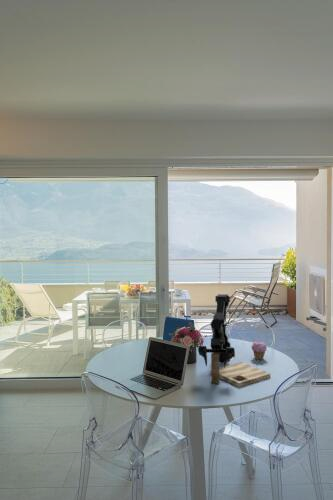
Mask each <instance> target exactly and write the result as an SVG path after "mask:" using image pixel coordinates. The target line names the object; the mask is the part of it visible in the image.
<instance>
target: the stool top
mask: <svg viewBox="0 0 333 500" xmlns="http://www.w3.org/2000/svg"><path fill="white" fill-rule="evenodd" d="M270 378H271V373H270V372H267V371H265V370H263V369H261V368H257V367H255V366H252V365H250V364H248V363H244V362H242V361H240V362H236V363H232V364H229V365H226V366H225V368H224V366H222V367H221V366H220V367H219V379H220V380H224V381H225V382H227V383H230V384H232V385H234V386H236V387H237V388H241V387H244V386H247V385H250V384H254V383H257V382H259V381H262V380H266V379H270Z"/></svg>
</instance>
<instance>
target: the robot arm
mask: <svg viewBox="0 0 333 500" xmlns="http://www.w3.org/2000/svg"><path fill="white" fill-rule="evenodd" d="M230 302H231V296H229V293H228V294H227V293H226V294H224V293H220V294H219V293H218V294H217V295H215V303H216V310H215V314H214V315H213V318H212V319H211V322H210V327H211V328H210V329H211V332H212V337H211V338H210V348H207V346H206V345H199V346H198V347H197V351H198V354H199V356H201V357H202V358H203V359H204V363H205V367H207V366H208V353H210V354H211V353H219V363H221V364H223V367H224V368H225V366H227V364H228V362H229V361H231V359H233V358H235V357H236V351H235V347H234V346H233V347H231V343H230V341H229V336H228V335H227V332H226V330H227V325H228V322H227V309H228V307H229V305H230Z"/></svg>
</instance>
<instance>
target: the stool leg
mask: <svg viewBox="0 0 333 500" xmlns="http://www.w3.org/2000/svg"><path fill="white" fill-rule="evenodd" d="M210 360H211V362H210V363H211V364H210V367H211V368H210V369H211V370H210V376H211V384H212V385H219V384H220V378H219V368H220V362H219V353H210Z"/></svg>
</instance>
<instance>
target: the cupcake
mask: <svg viewBox="0 0 333 500" xmlns="http://www.w3.org/2000/svg"><path fill="white" fill-rule="evenodd" d="M251 350H252V352H253V357H254V358H255V360H263V359H264V357H265V355H266V354H265V353H266V352H267V345H266V344H265V342H264V341H254V342H253V343H252V345H251Z"/></svg>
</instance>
